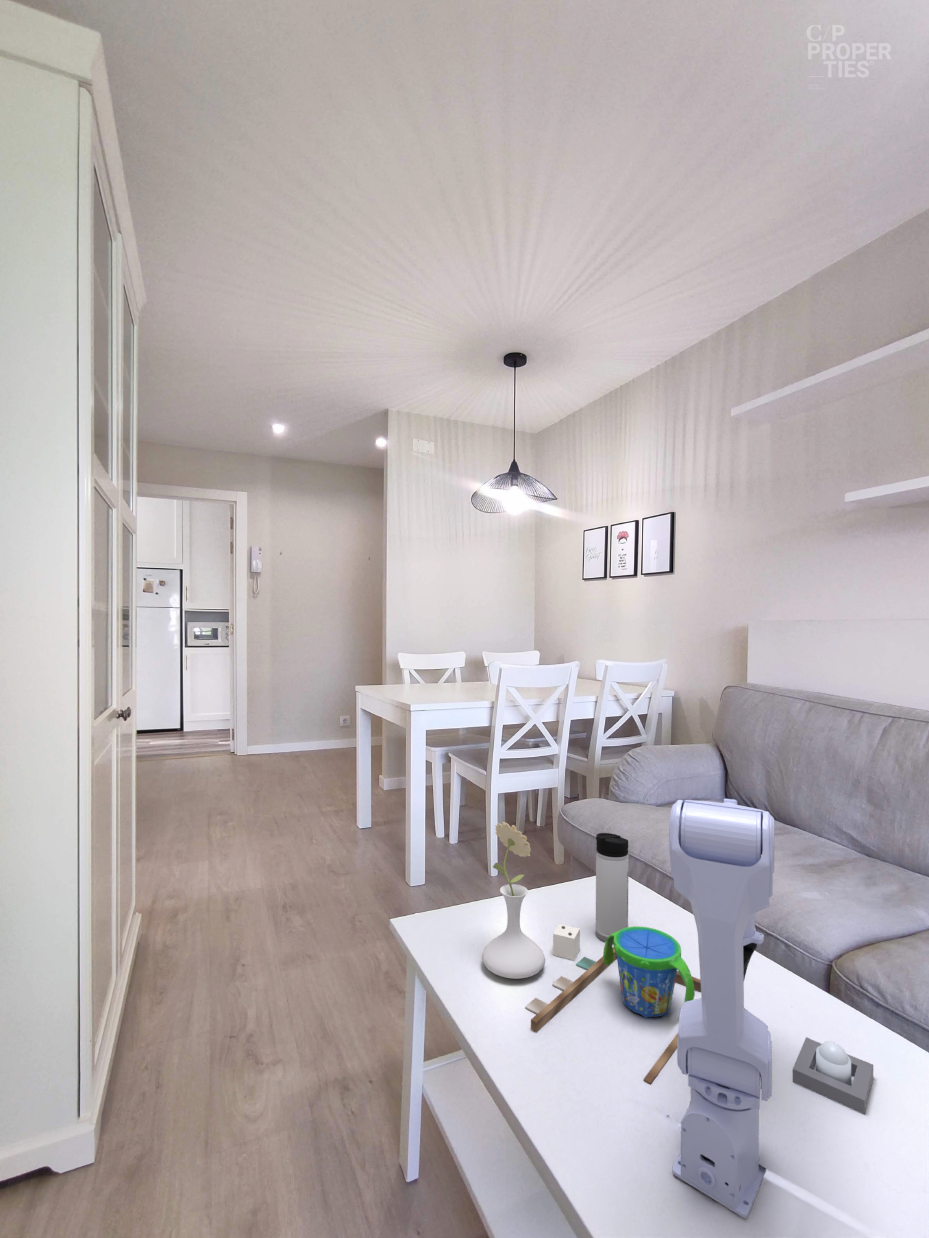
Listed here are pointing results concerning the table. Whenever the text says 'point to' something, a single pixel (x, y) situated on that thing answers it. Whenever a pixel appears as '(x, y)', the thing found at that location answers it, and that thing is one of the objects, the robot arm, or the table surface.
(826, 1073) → the dome
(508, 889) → the flower in vase
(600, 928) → the travel mug
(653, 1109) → the table surface
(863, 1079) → the button box
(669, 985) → the snack cup
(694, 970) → the table surface
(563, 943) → the die
